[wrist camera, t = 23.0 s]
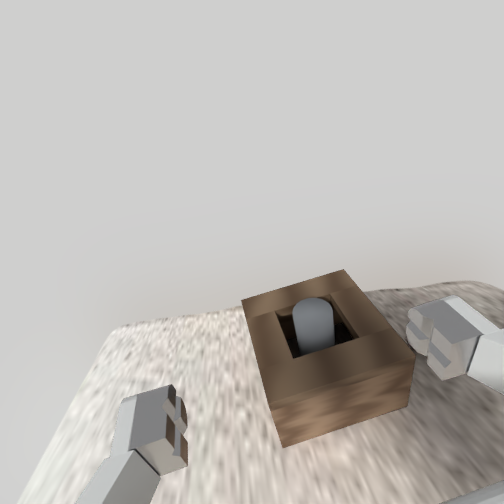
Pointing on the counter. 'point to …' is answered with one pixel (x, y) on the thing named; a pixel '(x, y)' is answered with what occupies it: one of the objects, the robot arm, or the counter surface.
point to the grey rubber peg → (313, 325)
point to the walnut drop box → (327, 360)
